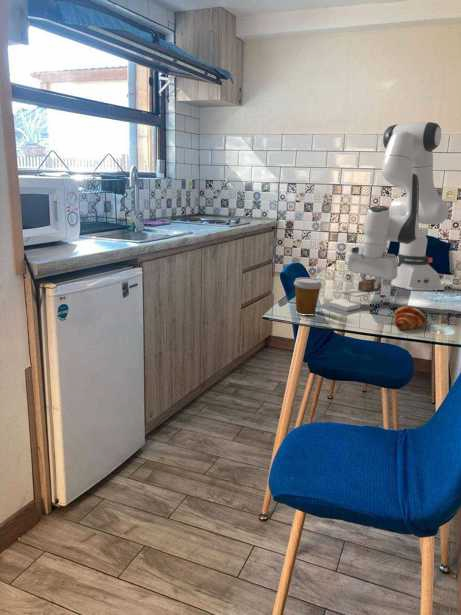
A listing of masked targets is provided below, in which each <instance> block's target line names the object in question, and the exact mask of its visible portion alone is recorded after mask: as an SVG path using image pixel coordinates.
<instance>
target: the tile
mask: <svg viewBox="0 0 461 615" xmlns="http://www.w3.org/2000/svg"><path fill="white" fill-rule="evenodd" d="M328 303H329V306H330V307H334V308H337V309H341V310H344V311H349V310H354V309H358V308H360V304H361V303H360V302H356V301H351V300H348V299H344V298H340V299H336V300H335V299H334V300H331V301H328Z"/></svg>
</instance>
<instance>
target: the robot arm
mask: <svg viewBox="0 0 461 615" xmlns="http://www.w3.org/2000/svg"><path fill="white" fill-rule="evenodd" d="M386 128H387V129H386V130H384V132H383V137H382V139H383V140H382V143H383V147H384V148H385V151H384V155H383V158H382V163H381V174H382V177H383V178H384V179H385V181H386V182H388V183H389V184H391V186H395V187H396V188H399V189H401V190H402V191H404V192H405V193H406V195H404V196H398V197H395V198H393V200H392V201H391V202H390V205H389V207H387V206H383V205H373V206H371V207H368V210H367V212H366V216H365V220H364V227H363V233H364V236H363V239H362V244H359V245H354V246H350V248H349V253H350V254H349V255H348V257H347V265H346V269H347V270H348V271H349V272H351V273H358V274H359V275H360V276H359V277H360V279H361V280H360V281H365V280H367V278H366V277H367V276H371V277H374V279H375V280H376V281H375V283H372V288H374V289H376V288H378V284H379V282H380V281H381V282H382V279H383V280H389V281H391V283H390V284H391V285H392V286H393V287H396V288H397V287H398V288H401V289H405V290H409V291H431V292H432V291H433V290H435V291H436V292H438V291H437V290H444V291H445V286H444V285H443V284H441V277H440V274H439V273H438V272H437V271H436V270H435V269H434V268H433V267H432V266H431V265H430V264H429V263H433V258H432V257H429V256H428V255H426V253H427V252H426V251H427V246H428V237H427V235H426V234H425V233H423V232H422V230H420V224H423V225H431V226H432V225H441V224H443V223H444V222H445V221H446V220H447V218H448V216H449V213H450V212H449V210H450V209H449V206H448V203H447V202H446V200H444V199H443V198H442V197H441V196H440V195H439V193H438V191H437V190H436V187H435V183H434V154H433V152H434V150H436V149H437V148H438V147H439V146H440V143H441V139H442V128H441V126H440V125H439V124H438V123H436V122H430V121H428V122H411V123H410V122H408V123H402V124H394V125H390V126H388V127H386ZM388 242H394V243H395V242H397V243H399V249H398V253H397V255H395V254H394V253H388V252H387V248H388ZM435 291H434V292H435Z"/></svg>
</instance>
